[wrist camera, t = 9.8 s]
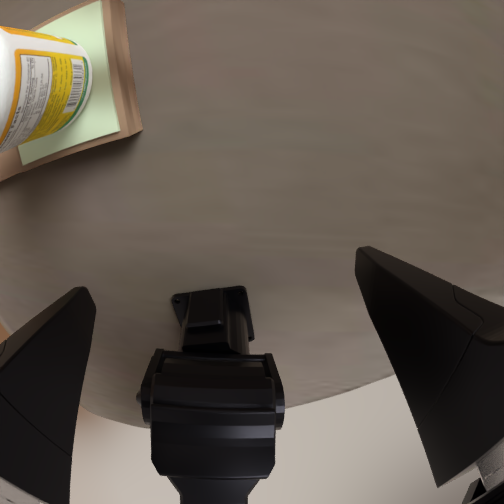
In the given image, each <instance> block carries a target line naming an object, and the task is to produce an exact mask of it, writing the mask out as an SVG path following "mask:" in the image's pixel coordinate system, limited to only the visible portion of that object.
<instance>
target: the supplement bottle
mask: <svg viewBox="0 0 504 504" xmlns="http://www.w3.org/2000/svg"><path fill="white" fill-rule="evenodd" d="M91 86H92V66H91V62H90V59H89V56H88V54H87V53H86V51H85V50H84V48H83V47H82V46H80V45H79V44H78V43H76V42H75V41H72V40H69V39H66V38H62V37H57V36H53V35H48V34H43V33H38V32H33V31H28V30H22V29H16V28H10V27H4V26H0V153H2V152H5V151H7V150H9V149H11V148H14V147H16V146H19V145H22V144H24V143H27V142H30V141H32V140H35V139H38V138H41V137H44V136H47V135H50V134H53V133H56V132H58V131H60V130H62V129H64V128H65V127H67V126H68V125H69V124H71V123H72V122H73V121H74V120H75V119H76V118H77V116H78V115H79V114H80V112H81V111H82V109H83V108H84V106H85V104H86V101H87V99H88V97H89V94H90V90H91Z"/></svg>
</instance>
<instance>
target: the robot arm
mask: <svg viewBox="0 0 504 504" xmlns="http://www.w3.org/2000/svg"><path fill="white" fill-rule="evenodd" d="M355 276H356V279H357V282H358V285H359V287H360V290H361V293H362V296H363V299H364V302H365V305H366V308H367V310H368V313H369V316H370V318H371V320H372V322H373V325H374V327H375V329H376V331H377V333H378V335H379V337H380V340H381V342H382V344H383V346H384V349H385V351H386V353H387V355H388V358H389V360H390V362H391V364H392V367H393V369H394V371H395V374H396V376H397V378H398V381H399V383H400V386H401V388H402V390H403V393H404V395H405V398H406V400H407V403H408V406H409V408H410V411H411V413H412V416H413V418H414V421H415V424H416V426H417V428H418V432H419V435H420V438H421V441H422V444H423V446H424V449H425V452H426V455H427V458H428V461H429V464H430V467H431V470H432V473H433V476H434V480H435V483H436V485H437V488H439V487H441V486H443V485H445V484H447V483H449V482H451V481H453V480H455V479H457V478H458V477H460V476H462V475H464V474H466V473H467V472H469V471H471V470H473V469H474V468H476V467H477V470H478V472H479V475H480V478H478V479H477V480H475V481H474V482H472V483H471V484H470V486H469V488H468V491H467V493H466V495H465V498H464V500H463V502H462V504H504V307H502V306H500V305H498V304H495V303H493V302H490V301H488V300H486V299H483V298H481V297H479V296H477V295H474V294H472V293H470V292H468V291H466V290H464V289H462V288H460V287H458V286H456V285H452V284H451V283H449V282H447V281H445V280H443V279H441V278H439V277H437V276H435V275H433V274H430V273H428V272H426V271H424V270H422V269H420V268H417V267H415V266H413V265H411V264H409V263H407V262H404V261H402V260H400V259H398V258H395V257H393V256H391V255H389V254H386V253H384V252H382V251H380V250H377V249H375V248H373V247H370V246H365V247H359V248H358V249H357V250H356V260H355ZM239 291H243V292H242V293H239ZM176 299H178V300H180V301H177V300H176ZM172 304H173V307H174V309H175V312H176V315H177V317H178V320H179V323H180V325H181V328H182V329H181V336H180V343H179V350H178V351H166V350H164V349H156V351H155V353H154V356H152V358H151V361H150V363H149V366H148V368H147V371H146V373H145V376H144V379H143V381H142V384H141V389H140V391H139V392H138V393H137V396H136V400H137V403H138V404H139V405H140V406H141V408H142V414H143V419H144V422H145V424H146V425H150V428H151V460H152V463H153V464H154V466H155V468H156V470H157V472H158V473H159V475H162V476H167V477H168V479H169V480H170V482H171V483H172V484H173V486H174V487H175V488H176V489H177V491H178V492H179V494H180V504H248V495H249V494H250V492H251V491H252V489H253V488H254V487H255V485H256V484H257V483H258V481H259V480H260V479H266V478H268V476H269V474H270V473H271V471H272V469H273V467H274V465H275V433H276V430H280V429H281V428H282V425H283V421H284V412H285V400H284V391H283V386H282V382H281V379H280V376H279V373H278V370H277V367H276V364H275V362H274V359H273V356H272V353H265V354H264V355H250V354H249V342H250V341H253V340H254V330H253V325H252V319H251V313H250V308H249V302H248V296H247V290H246V288H245V287H244V286H235V287H227V288H218V289H210V290H202V291H195V292H189V293H181V294H175V295H173V297H172ZM95 315H96V306H95V303H94V301H93V299H92V297H91V295H90V293H89V291H88V289H87V288H86V287H84V286H81V287H75V288H73V289H72V290H70V291H69V292H68V293H66V294H65V295H64V296H62V297H61V298H59V299H58V300H57V301H55V302H54V303H53V304H51V305H50V306H49V307H47V308H46V309H45V310H43V311H42V312H41V313H39V314H38V315H37V316H35V317H34V318H33V319H31V320H30V321H29V322H27V323H26V324H25V325H24V326H22V327H21V328H20V329H19V330H17V331H16V332H15V333H13V334H12V335H11V336H10V337H9V338H8V339H7V340H5V341H4V342H2V343H1V344H0V504H40V502H41V503H43V504H69V502H70V501H69V499H70V479H71V465H72V457H71V456H72V452H73V443H74V435H75V427H76V420H77V414H78V407H79V402H80V396H81V391H82V385H83V380H84V375H85V371H86V366H87V361H88V357H89V353H90V348H91V341H92V334H93V328H94V321H95ZM248 336H250V337H248Z"/></svg>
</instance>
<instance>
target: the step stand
mask: <svg viewBox="0 0 504 504" xmlns="http://www.w3.org/2000/svg"><path fill="white" fill-rule="evenodd" d="M29 31H33V32H38V33H43V34H48V35H53V36H57V37H62V38H66V39H69V40H72V41H75V42H76V43H78V44H79V45H80V46H82V47H83V48H84V50H85V51H86V53H87V54H88V56H89V59H90V62H91V66H92V86H91V90H90V94H89V97H88V99H87V101H86V104H85V106H84V108H83V109H82V111H81V112H80V114H79V115H78V116H77V118H76V119H75V120H74V121H73V122H72V123H71V124H69V125H68V126H67V127H65V128H64V129H62V130H60V131H58V132H56V133H53V134H50V135H47V136H44V137H41V138H38V139H35V140H32V141H30V142H27V143H24V144H22V145H19V146H16V147H14V148H11V149H9V150H7V151H5V152H2V153H0V181H2V180H5V179H7V178H9V177H11V176H13V175H16V174H18V173H20V172H22V173H23V172H26V171H28V170H30V169H33V168H35V167H38V166H40V165H43V164H45V163H48V162H51V161H53V160H56V159H59V158H61V157H64V156H67V155H70V154H73V153H76V152H79V151H82V150H85V149H88V148H91V147H94V146H97V145H100V144H104V143H107V142H110V141H114V140H117V139H121V138H124V137H128V136H131V135H133V134H135V133H137V132H139V131H141V130H143V128H142V123H141V118H140V112H139V107H138V101H137V96H136V90H135V84H134V78H133V72H132V65H131V58H130V51H129V44H128V36H127V27H126V18H125V8H124V3H123V2H122V1H120V0H88V1H86V2H83V3H81V4H79V5H77V6H74V7H72V8H70V9H68V10H66V11H64V12H62V13H60V14H58V15H56V16H54V17H52V18H50V19H49V20H47V21H45V22H43V23H41V24H40V25H38V26H36V27H34V28H33V29H31V30H29Z"/></svg>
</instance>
